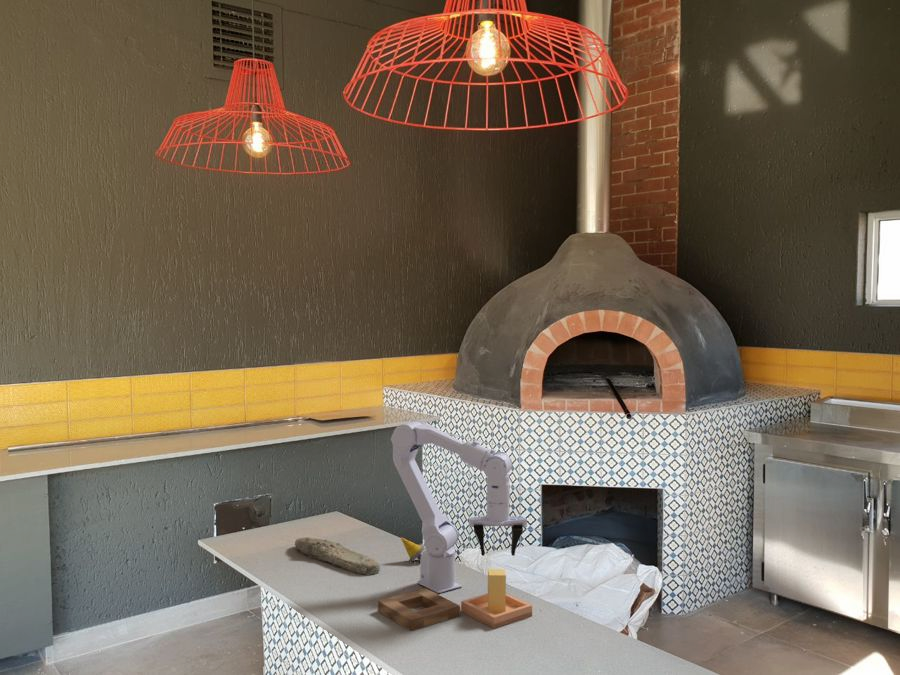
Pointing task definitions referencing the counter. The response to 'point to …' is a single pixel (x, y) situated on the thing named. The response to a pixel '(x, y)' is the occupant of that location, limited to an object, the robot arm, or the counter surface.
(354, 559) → the long grey stone
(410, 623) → the socket block
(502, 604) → the peg
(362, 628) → the counter surface
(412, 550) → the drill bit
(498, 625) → the tray
